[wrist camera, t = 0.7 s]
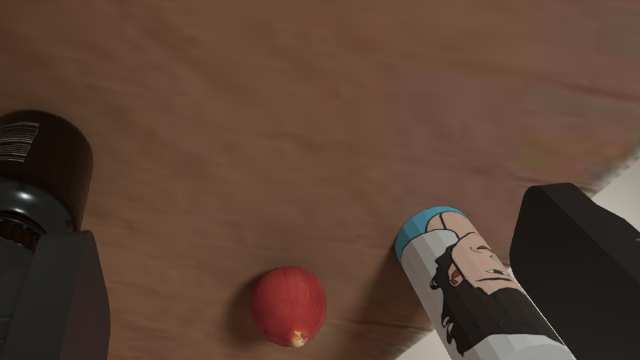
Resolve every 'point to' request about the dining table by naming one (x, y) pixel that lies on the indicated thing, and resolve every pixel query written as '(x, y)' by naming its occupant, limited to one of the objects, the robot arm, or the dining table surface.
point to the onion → (288, 306)
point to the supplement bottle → (39, 182)
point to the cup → (471, 292)
